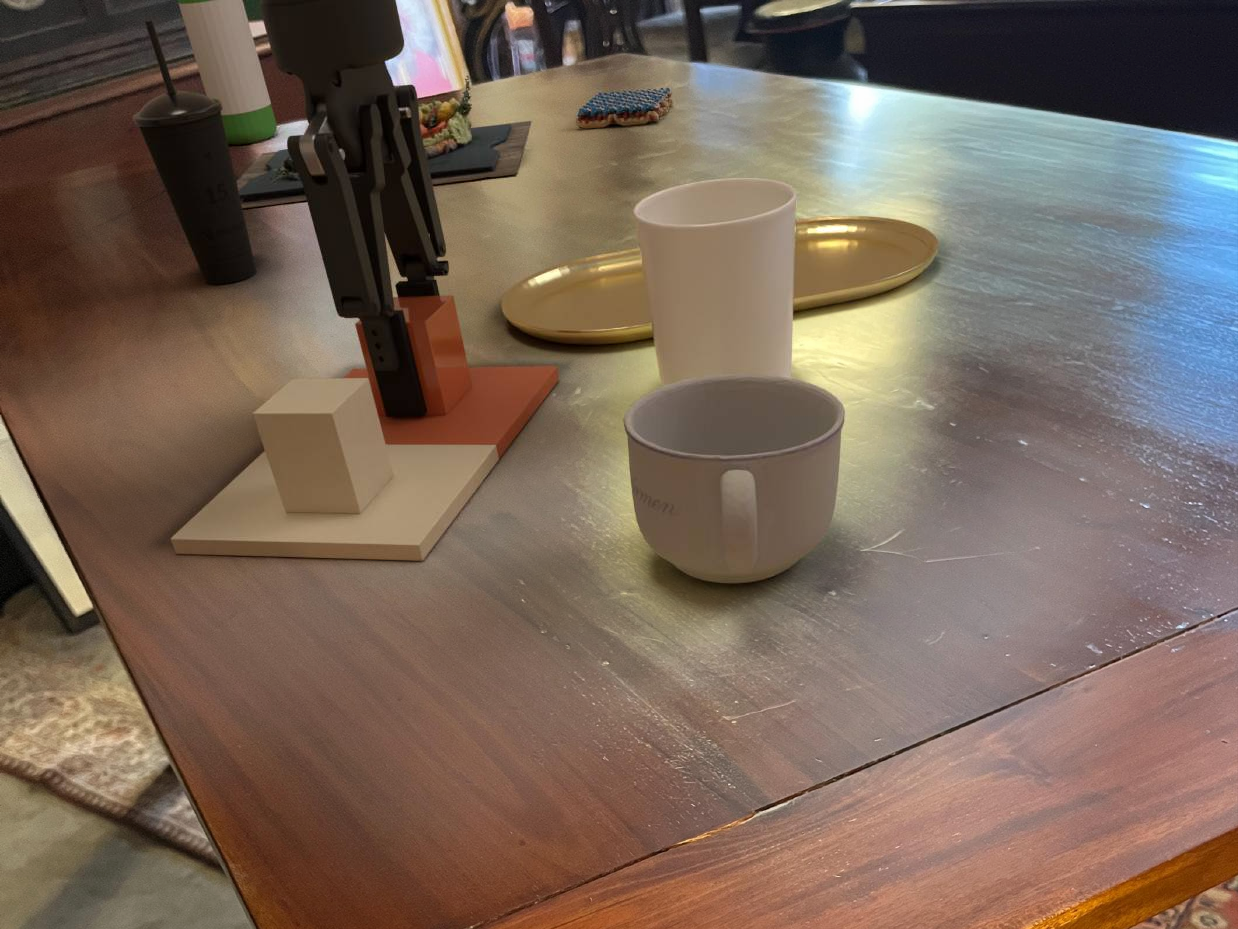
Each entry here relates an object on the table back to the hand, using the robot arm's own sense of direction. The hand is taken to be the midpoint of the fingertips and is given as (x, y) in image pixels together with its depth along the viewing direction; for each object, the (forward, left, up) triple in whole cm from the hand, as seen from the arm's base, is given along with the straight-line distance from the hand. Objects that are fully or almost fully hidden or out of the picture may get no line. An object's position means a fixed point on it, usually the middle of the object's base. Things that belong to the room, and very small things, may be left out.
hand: (422, 396), depth 83 cm
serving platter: (+16, +24, -1) cm, 29 cm away
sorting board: (0, -7, -1) cm, 7 cm away
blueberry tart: (-9, +88, -1) cm, 88 cm away
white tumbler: (+21, +2, -1) cm, 21 cm away
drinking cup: (-33, +32, -1) cm, 46 cm away
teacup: (+26, -20, -1) cm, 33 cm away
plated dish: (-35, +72, -1) cm, 80 cm away
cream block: (0, -14, 0) cm, 14 cm away
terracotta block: (0, 0, 0) cm, 0 cm away
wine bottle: (-62, +90, -1) cm, 109 cm away
